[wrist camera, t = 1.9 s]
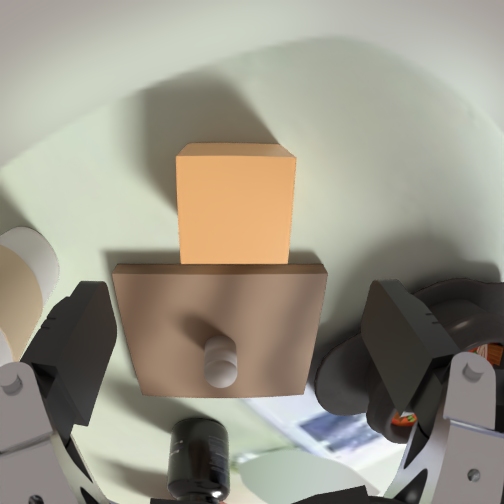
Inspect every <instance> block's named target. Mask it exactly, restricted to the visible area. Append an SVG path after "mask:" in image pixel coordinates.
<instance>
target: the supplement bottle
mask: <svg viewBox="0 0 504 504" xmlns="http://www.w3.org/2000/svg"><path fill="white" fill-rule="evenodd" d="M167 489H168V491H169V493H170V494H171V495H172V496H173V497H174V498H176V499H177V500H178V501H196V502H207V503H211V504H220V503H219V502H221V501H223V500H224V499H226V498H227V496H228V495H229V493H230V473H229V442H228V433H227V430H226V429H225V428H224V427H223V426H222V425H220V424H219V423H217V422H214V421H211V420H207V419H197V418H196V419H186V420H183V421H180V422H179V423H177V424H176V425H175V426H174V427H173V429H172V435H171V444H170V454H169V465H168V476H167Z"/></svg>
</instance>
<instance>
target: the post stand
mask: <svg viewBox="0 0 504 504" xmlns="http://www.w3.org/2000/svg"><path fill="white" fill-rule="evenodd" d="M327 276H328V273H327V271H326V269H325V267H324V265H323V264H252V265H181V264H117V266H116V268H115V269H114V271H113V273H112V277H113V282H114V287H115V292H116V297H117V301H118V306H119V310H120V315H121V319H122V323H123V327H124V331H125V335H126V339H127V343H128V347H129V350H130V354H131V358H132V361H133V365H134V368H135V372H136V375H137V378H138V382H139V385H140V388H141V391H142V394H143V395H148V396H164V397H186V398H252V397H274V396H290V395H303V394H304V390H305V386H306V382H307V378H308V373H309V369H310V364H311V360H312V355H313V350H314V346H315V341H316V336H317V331H318V326H319V321H320V315H321V310H322V305H323V299H324V294H325V288H326V282H327Z"/></svg>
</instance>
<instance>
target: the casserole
mask: <svg viewBox="0 0 504 504" xmlns="http://www.w3.org/2000/svg"><path fill="white" fill-rule="evenodd" d="M413 296H415V297H416V298H418V299H419V300H420V301H422V302H423V303H424V304H425V305H426V306H427V308H428V309H429V310H430V311H431V313H432V315H434V316H435V318H436V319H437V320H438V323H439V324H441V325H442V327H443V328H444V329H445V330H446V332H447V333H448V334H449V336H450V337H451V338H452V340H453V341H454V342H455V344H456V345H457V346H458V348H459V349H460V350H461V352H472V353H475V354H478V355H480V356H482V357H483V358H485V359H486V360H487V361H488V362H489V363H490V364H491V365H492V367H493V369H500V370H504V282H502V283H483V282H479V281H475V280H471V279H467V278H460V279H450V280H446V281H442V282H439V283H435V284H433V285H431V286H429V287H427V288H425V289H422V290H420V291H418V292H417V293H415V294H413ZM314 386H315V395H316V398H317V400H318V402H319V404H320V405H321V406H322V407H323V408H324V409H325V410H326V411H328V412H330V413H332V414H334V415H341V416H346V415H355V414H361V413H366V412H367V413H366V417H367V423H368V424H369V426H370V427H371V429H373V430H375V431H376V432H378V433H381V434H382V435H383V436H384V437H385V438H386V439H387V440H389V441H391V442H393V443H398V444H407V443H408V440H409V437H410V434H411V430H412V427H413V425H414V423H415V421H416V420H417V418H416V416H415V414H412V415H408V416H404V417H400V416H399V414H398V412H397V410H396V407H395V405H394V403H393V401H392V399H391V397H390V394H389V392H388V390H387V388H386V386H385V384H384V382H383V380H382V377H381V375H380V373H379V371H378V369H377V367H376V365H375V363H374V361H373V359H372V357H371V355H370V353H369V351H368V349H367V347H366V345H365V343H364V341H363V339H362V335H361V333H359V334H357V335H356V336H354V337H352V338H350V339H349V340H347V341H345V342H343V343H342V344H340V345H338V346H337V347H335V348H333V350H332V351H331V352H330V353H329V354H328V355H327V356H326V357H325V358H324V359H323V360H322V362H321V364H320V366H319V368H318V370H317V373H316V378H315V382H314Z"/></svg>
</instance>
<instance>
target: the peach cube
mask: <svg viewBox="0 0 504 504" xmlns="http://www.w3.org/2000/svg"><path fill="white" fill-rule="evenodd" d="M295 171H296V157H295V156H294V155H292V154H291V153H290V152H289V151H288V150H286V149H285V148H284V147H283V146H281V145H280V144H263V143H188V144H187V145H186V146H185V147H184V148H183V150H182V151H181V152H180V153H179V154H178V155H177V156H176V179H177V205H178V225H179V242H180V257H181V264H288V255H289V244H290V233H291V222H292V210H293V197H294V184H295Z"/></svg>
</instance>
